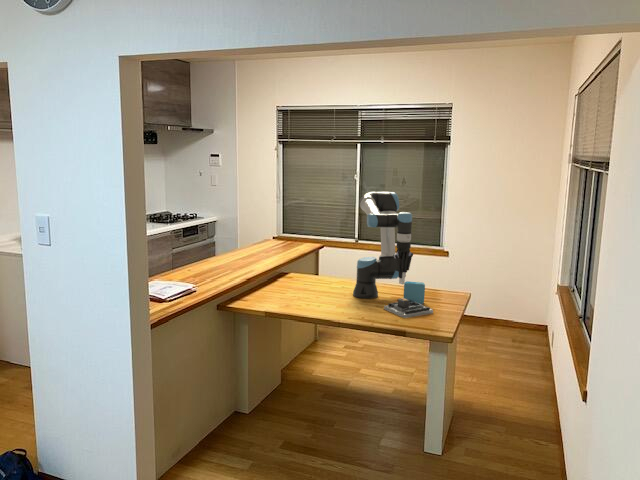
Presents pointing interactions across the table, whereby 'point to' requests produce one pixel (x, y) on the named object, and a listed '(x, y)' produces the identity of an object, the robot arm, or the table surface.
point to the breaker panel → (408, 309)
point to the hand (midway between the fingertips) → (401, 283)
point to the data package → (414, 291)
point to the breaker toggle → (403, 302)
